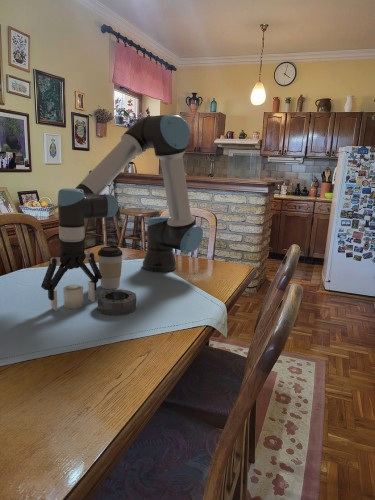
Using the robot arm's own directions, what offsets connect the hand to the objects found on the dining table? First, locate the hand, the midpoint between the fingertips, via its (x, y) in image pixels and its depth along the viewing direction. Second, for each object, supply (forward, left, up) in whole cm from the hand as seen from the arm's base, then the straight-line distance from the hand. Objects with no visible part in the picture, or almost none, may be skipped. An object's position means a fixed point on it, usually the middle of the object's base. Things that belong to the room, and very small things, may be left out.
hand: (73, 304), depth 115 cm
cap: (0, 0, 0) cm, 0 cm away
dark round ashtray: (-10, +10, 0) cm, 14 cm away
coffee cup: (-19, -9, 0) cm, 21 cm away
